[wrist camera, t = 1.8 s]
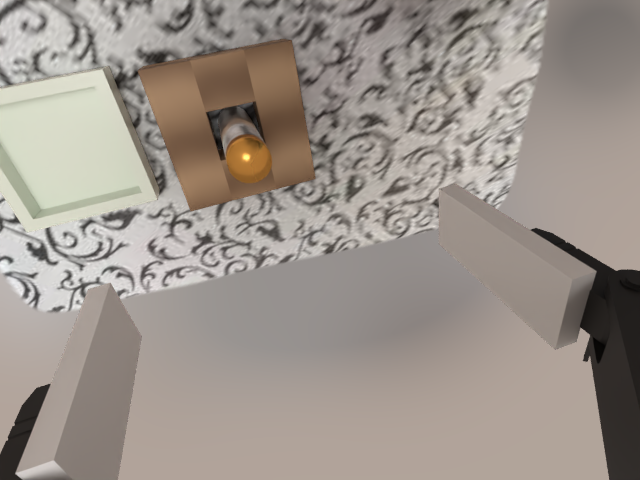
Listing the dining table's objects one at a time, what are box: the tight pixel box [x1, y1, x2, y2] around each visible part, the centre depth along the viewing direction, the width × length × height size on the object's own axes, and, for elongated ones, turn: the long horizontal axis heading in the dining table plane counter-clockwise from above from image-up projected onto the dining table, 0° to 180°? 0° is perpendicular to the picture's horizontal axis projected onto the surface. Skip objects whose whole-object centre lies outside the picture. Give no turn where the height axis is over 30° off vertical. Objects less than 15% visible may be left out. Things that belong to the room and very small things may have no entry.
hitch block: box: [138, 39, 315, 211], centre depth 34 cm, size 12×12×4 cm
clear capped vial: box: [218, 106, 272, 183], centre depth 31 cm, size 3×3×12 cm
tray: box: [0, 66, 160, 233], centre depth 32 cm, size 11×11×3 cm
